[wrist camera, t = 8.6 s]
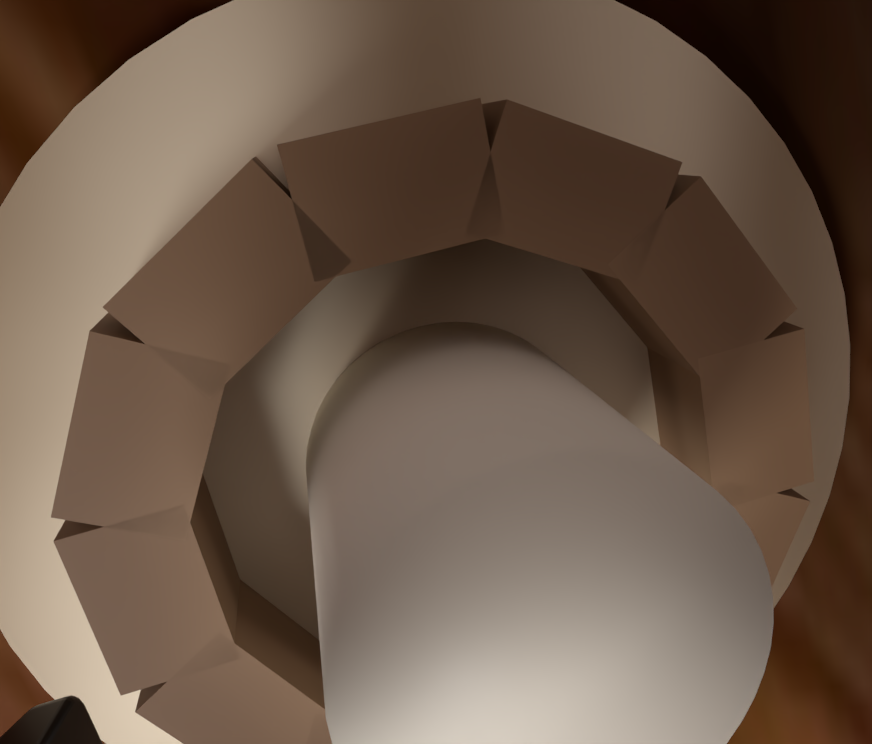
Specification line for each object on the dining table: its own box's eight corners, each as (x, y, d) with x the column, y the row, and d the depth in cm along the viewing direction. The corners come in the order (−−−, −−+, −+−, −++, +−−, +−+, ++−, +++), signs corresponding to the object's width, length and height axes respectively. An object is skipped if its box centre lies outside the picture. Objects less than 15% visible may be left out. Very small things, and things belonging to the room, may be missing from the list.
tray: (791, -116, 11) (921, -181, 9) (836, 655, 16) (930, 742, 13) (-221, 94, 10) (-376, 80, 7) (151, 888, 14) (126, 1031, 12)
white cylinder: (602, 540, 13) (787, 768, 8) (347, 618, 12) (388, 912, 8) (559, 288, 11) (754, 390, 7) (269, 366, 11) (262, 534, 6)
